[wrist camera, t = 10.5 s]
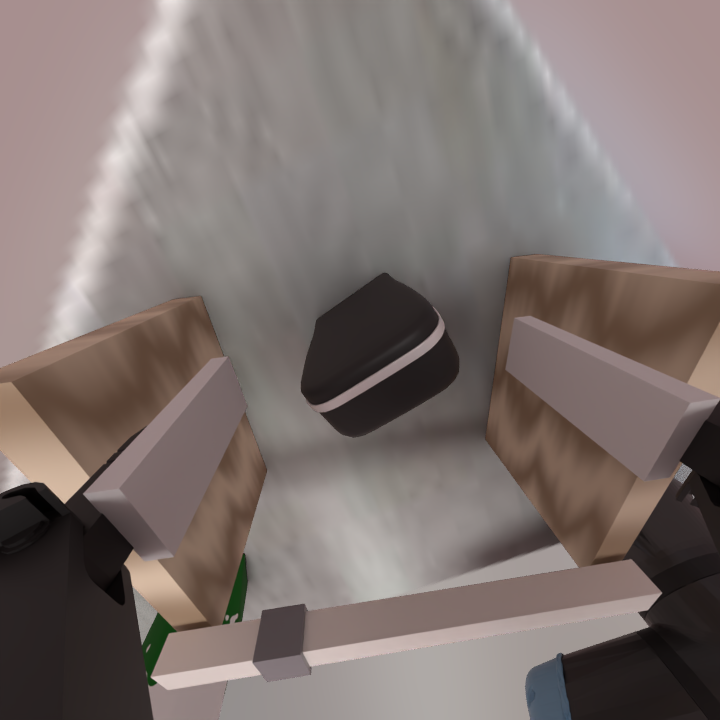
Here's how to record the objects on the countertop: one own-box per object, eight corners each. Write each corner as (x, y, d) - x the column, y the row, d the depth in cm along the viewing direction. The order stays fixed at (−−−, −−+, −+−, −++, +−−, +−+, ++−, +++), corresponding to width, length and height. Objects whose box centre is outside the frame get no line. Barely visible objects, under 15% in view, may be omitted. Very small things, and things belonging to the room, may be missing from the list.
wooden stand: (503, 436, 27) (615, 570, 16) (247, 473, 27) (185, 640, 16) (536, 254, 19) (796, 278, 8) (173, 299, 19) (-58, 391, 8)
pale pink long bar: (615, 576, 17) (649, 618, 15) (187, 645, 16) (168, 698, 14) (630, 551, 15) (669, 593, 13) (167, 625, 15) (144, 680, 13)
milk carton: (187, 588, 35) (28, 966, 17) (175, 549, 31) (-46, 983, 13) (255, 586, 36) (174, 938, 18) (252, 548, 32) (146, 945, 14)
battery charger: (340, 356, 22) (344, 465, 12) (312, 321, 20) (288, 409, 10) (412, 310, 21) (489, 384, 10) (388, 268, 19) (449, 307, 9)
